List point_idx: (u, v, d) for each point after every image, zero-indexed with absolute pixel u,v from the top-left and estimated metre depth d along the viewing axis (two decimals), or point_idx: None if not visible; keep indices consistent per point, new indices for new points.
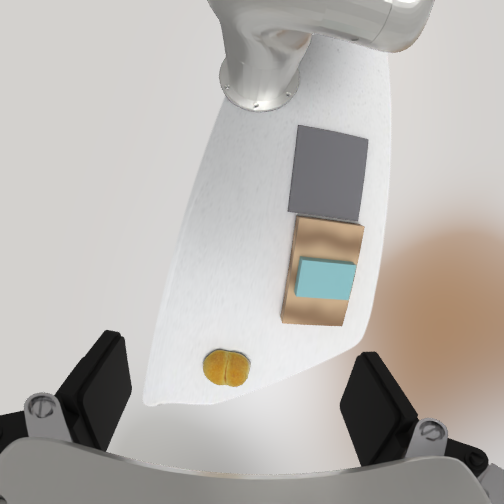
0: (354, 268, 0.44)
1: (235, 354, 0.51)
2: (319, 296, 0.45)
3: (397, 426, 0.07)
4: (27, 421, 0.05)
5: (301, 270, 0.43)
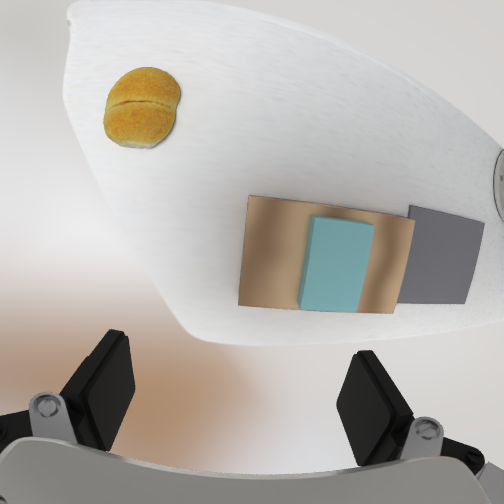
0: (352, 310, 0.28)
1: (173, 118, 0.26)
2: (312, 259, 0.26)
3: (392, 424, 0.07)
4: (32, 420, 0.05)
5: (359, 224, 0.25)
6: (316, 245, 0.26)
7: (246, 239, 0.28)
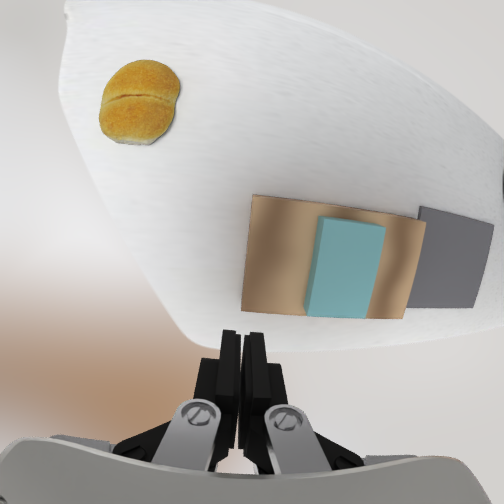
0: (361, 316, 0.26)
1: (172, 113, 0.24)
2: (320, 262, 0.24)
3: (251, 406, 0.08)
4: (174, 420, 0.06)
5: (369, 226, 0.24)
6: (325, 248, 0.24)
7: (250, 241, 0.26)
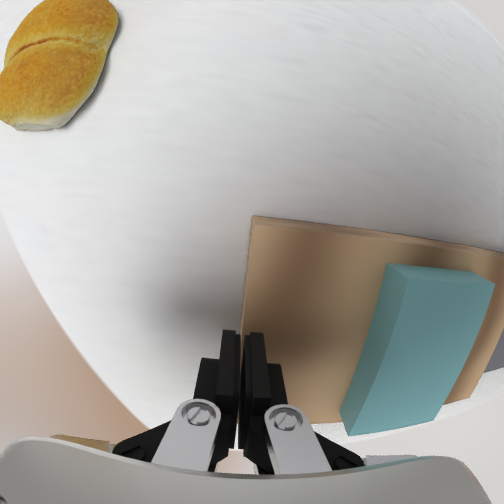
0: (428, 419, 0.12)
1: (96, 66, 0.10)
2: (387, 360, 0.11)
3: (251, 406, 0.08)
4: (174, 420, 0.06)
5: (475, 285, 0.10)
6: (400, 334, 0.10)
7: (247, 318, 0.12)
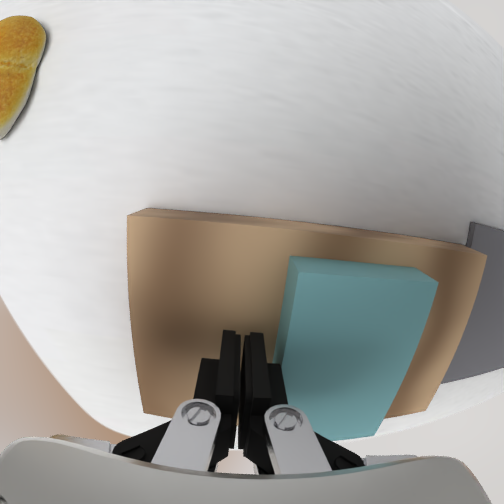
0: (367, 434, 0.12)
1: (23, 83, 0.10)
2: (289, 365, 0.10)
3: (251, 406, 0.08)
4: (174, 420, 0.06)
5: (406, 283, 0.10)
6: (300, 337, 0.10)
7: (133, 307, 0.12)
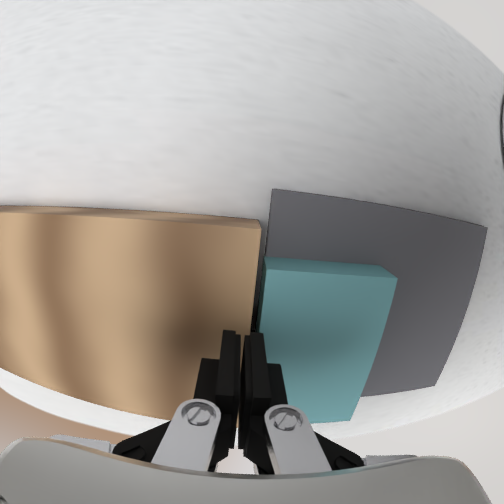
0: (342, 418, 0.14)
1: None
2: None
3: (251, 406, 0.08)
4: (174, 420, 0.06)
5: (365, 279, 0.12)
6: (271, 325, 0.12)
7: None
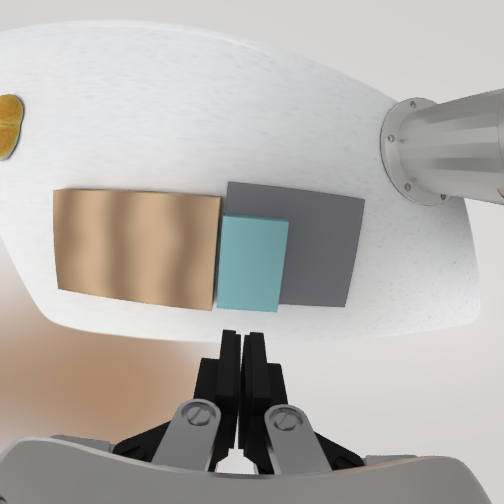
0: (271, 309, 0.28)
1: (14, 134, 0.23)
2: (222, 257, 0.27)
3: (251, 406, 0.08)
4: (173, 420, 0.06)
5: (270, 222, 0.26)
6: (225, 243, 0.26)
7: (54, 228, 0.25)
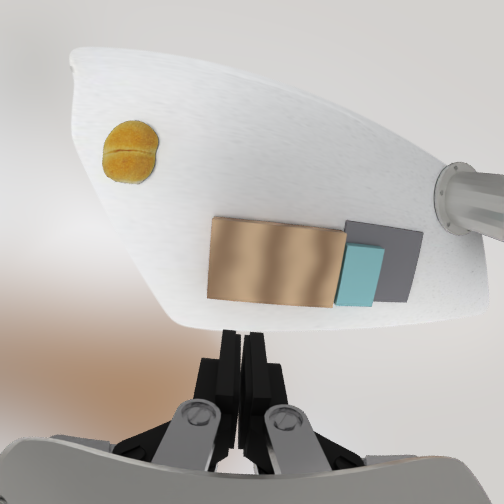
0: (368, 305, 0.40)
1: (153, 162, 0.36)
2: (344, 272, 0.39)
3: (251, 406, 0.08)
4: (174, 420, 0.06)
5: (374, 249, 0.38)
6: (347, 263, 0.39)
7: (211, 249, 0.38)
